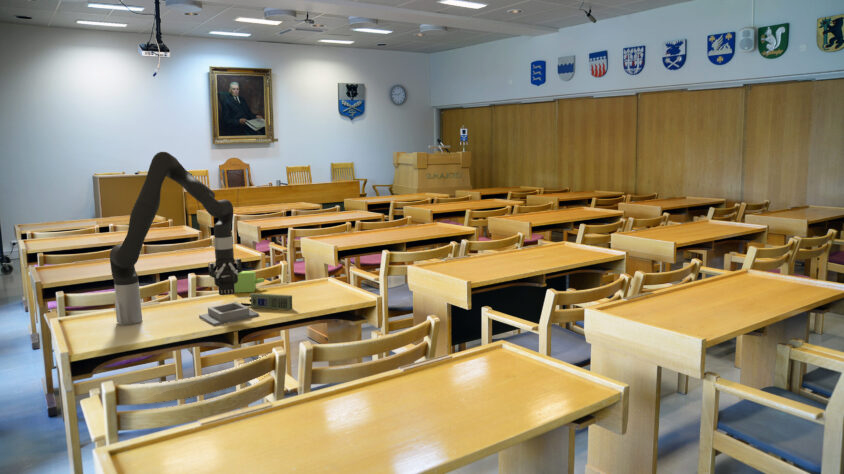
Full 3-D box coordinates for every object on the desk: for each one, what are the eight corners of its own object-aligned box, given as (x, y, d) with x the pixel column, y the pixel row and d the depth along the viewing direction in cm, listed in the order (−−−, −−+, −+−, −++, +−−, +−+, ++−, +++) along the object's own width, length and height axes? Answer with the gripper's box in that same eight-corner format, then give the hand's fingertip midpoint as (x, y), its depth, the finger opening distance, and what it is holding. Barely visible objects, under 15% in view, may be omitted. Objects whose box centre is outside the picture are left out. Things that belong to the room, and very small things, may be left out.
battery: (218, 296, 266) (216, 270, 264) (218, 294, 270) (216, 268, 268) (235, 294, 268) (233, 269, 266) (235, 292, 272) (233, 267, 270)
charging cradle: (214, 326, 258) (213, 316, 258) (199, 317, 270) (198, 308, 269) (258, 315, 271) (258, 307, 271) (242, 308, 283) (241, 299, 282)
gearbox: (265, 287, 321) (265, 269, 319) (263, 291, 311) (262, 273, 310) (229, 288, 318) (228, 270, 317) (226, 292, 309) (225, 274, 307)
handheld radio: (290, 311, 279) (239, 308, 284) (293, 309, 282) (242, 306, 287) (289, 296, 278) (238, 293, 283) (292, 294, 281) (242, 292, 286)
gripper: (211, 250, 258) (214, 289, 261) (243, 245, 267) (246, 283, 270) (203, 248, 264) (206, 286, 267) (235, 243, 273) (238, 280, 276)
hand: (226, 284), depth 268 cm, fingers closed on battery, 7 cm apart
